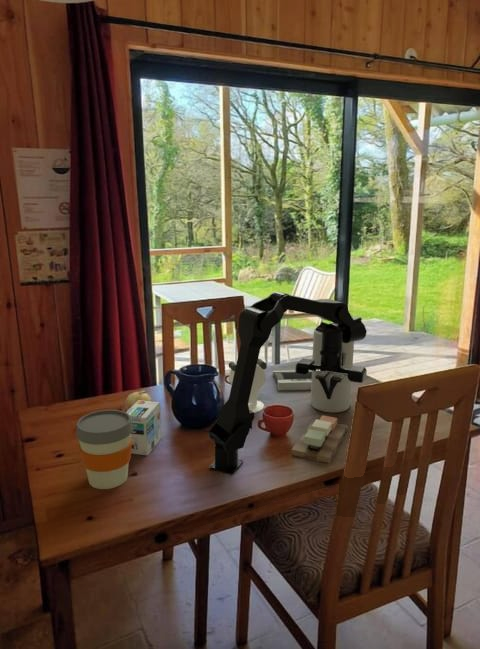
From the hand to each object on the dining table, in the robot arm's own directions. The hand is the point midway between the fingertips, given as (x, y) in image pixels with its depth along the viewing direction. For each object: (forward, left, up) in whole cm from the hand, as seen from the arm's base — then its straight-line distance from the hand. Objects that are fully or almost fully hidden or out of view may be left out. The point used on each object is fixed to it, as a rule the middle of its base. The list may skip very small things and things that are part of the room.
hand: (329, 398), depth 138 cm
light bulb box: (-29, +43, -10) cm, 53 cm away
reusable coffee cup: (-46, +41, -10) cm, 62 cm away
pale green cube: (-13, 0, -8) cm, 16 cm away
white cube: (-7, 0, -8) cm, 11 cm away
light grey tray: (+34, +20, -11) cm, 41 cm away
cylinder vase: (+18, +4, -10) cm, 21 cm away
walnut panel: (-7, 0, -10) cm, 12 cm away
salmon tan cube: (0, 0, -10) cm, 10 cm away
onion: (-12, +57, -11) cm, 59 cm away
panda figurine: (+6, +28, -10) cm, 31 cm away
